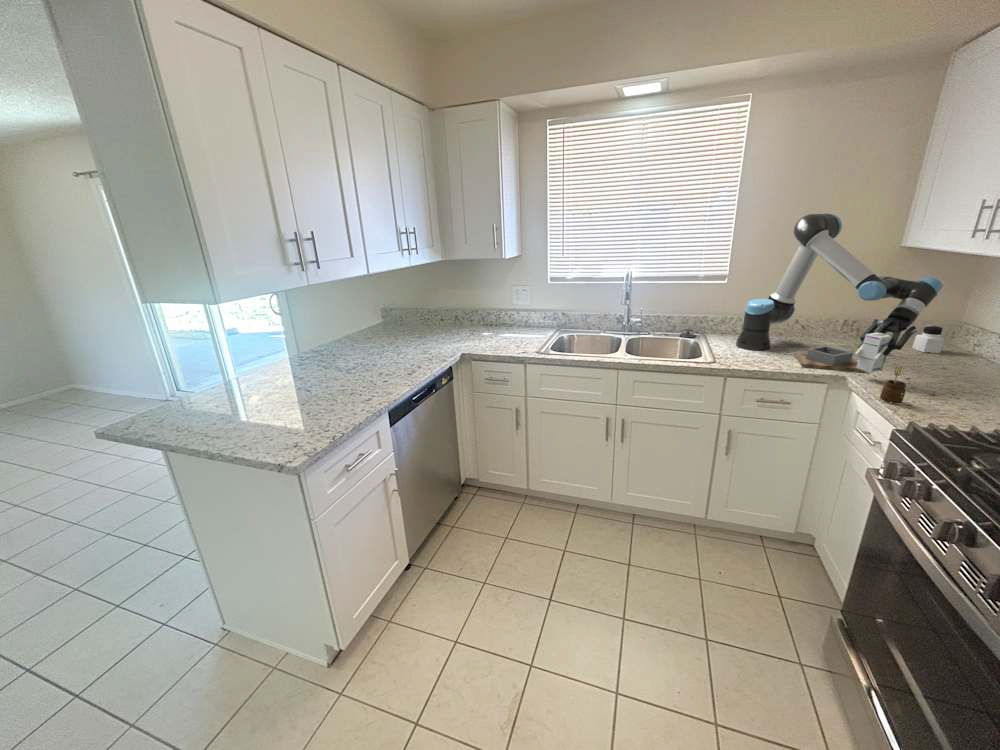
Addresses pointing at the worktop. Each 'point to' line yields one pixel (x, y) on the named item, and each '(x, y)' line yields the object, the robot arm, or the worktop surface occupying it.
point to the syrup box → (873, 352)
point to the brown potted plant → (894, 389)
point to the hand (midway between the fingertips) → (866, 357)
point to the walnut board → (810, 363)
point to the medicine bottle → (929, 340)
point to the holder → (829, 355)
